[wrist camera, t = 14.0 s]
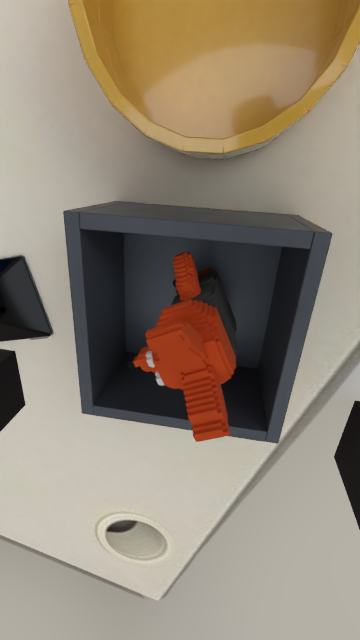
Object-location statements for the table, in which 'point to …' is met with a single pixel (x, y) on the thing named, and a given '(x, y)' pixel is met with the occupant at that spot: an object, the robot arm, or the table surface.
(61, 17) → the table surface
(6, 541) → the table surface
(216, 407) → the toy animal
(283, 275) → the bin
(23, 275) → the build plate
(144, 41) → the bowl
